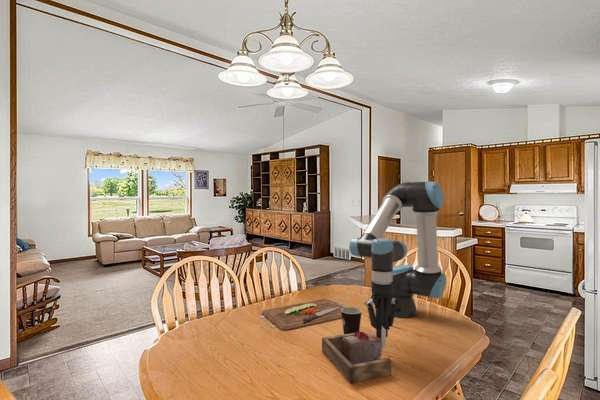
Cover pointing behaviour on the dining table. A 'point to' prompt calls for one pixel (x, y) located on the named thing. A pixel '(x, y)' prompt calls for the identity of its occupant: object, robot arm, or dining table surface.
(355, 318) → the coffee mug
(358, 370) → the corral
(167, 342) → the dining table surface
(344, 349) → the food item
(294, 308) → the chopping board
